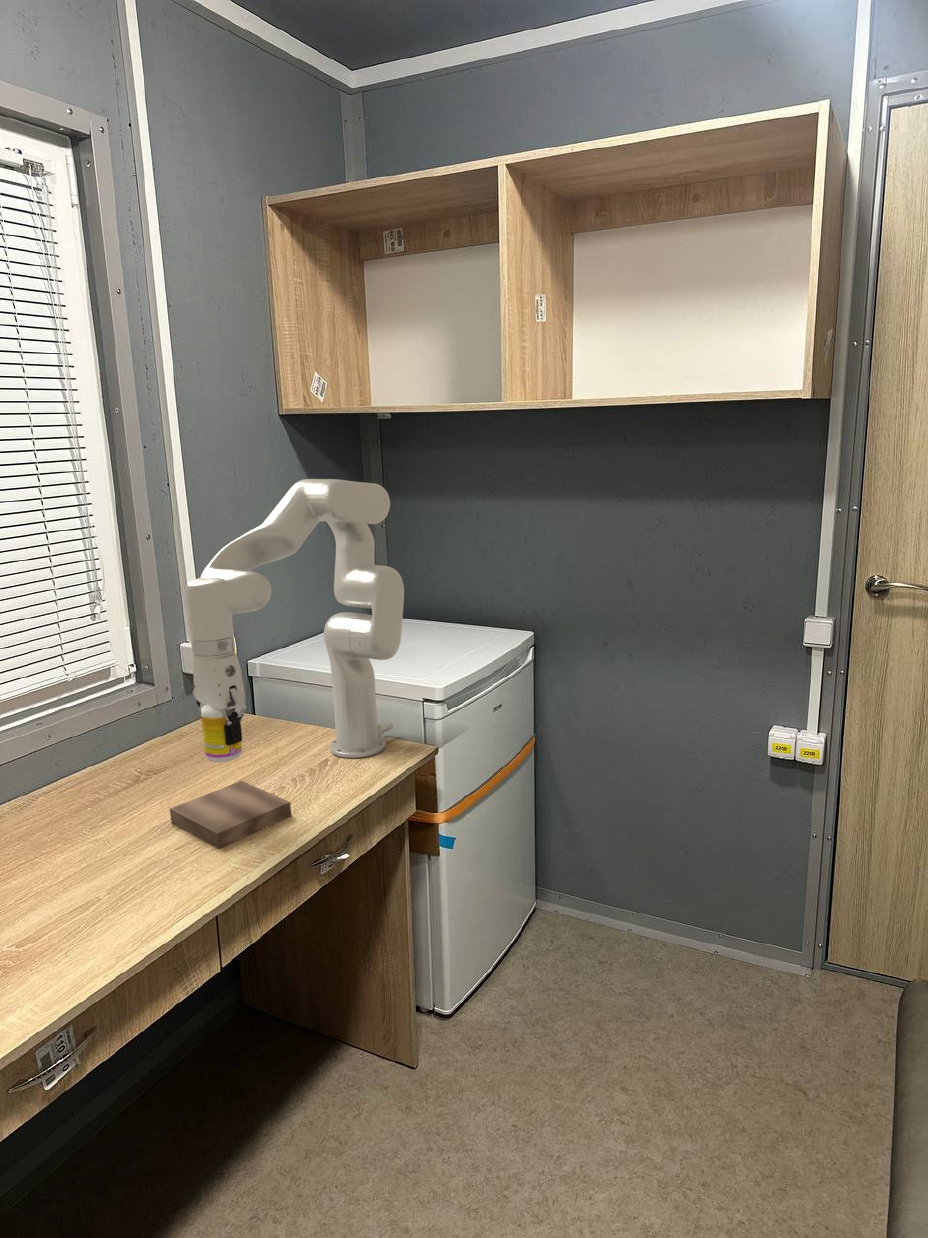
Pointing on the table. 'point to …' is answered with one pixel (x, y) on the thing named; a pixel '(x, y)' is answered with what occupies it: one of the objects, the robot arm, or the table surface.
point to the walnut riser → (230, 813)
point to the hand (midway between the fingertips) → (222, 738)
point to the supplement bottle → (217, 735)
